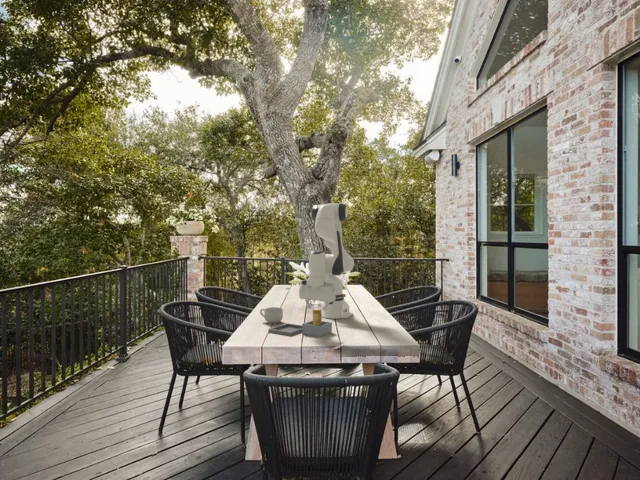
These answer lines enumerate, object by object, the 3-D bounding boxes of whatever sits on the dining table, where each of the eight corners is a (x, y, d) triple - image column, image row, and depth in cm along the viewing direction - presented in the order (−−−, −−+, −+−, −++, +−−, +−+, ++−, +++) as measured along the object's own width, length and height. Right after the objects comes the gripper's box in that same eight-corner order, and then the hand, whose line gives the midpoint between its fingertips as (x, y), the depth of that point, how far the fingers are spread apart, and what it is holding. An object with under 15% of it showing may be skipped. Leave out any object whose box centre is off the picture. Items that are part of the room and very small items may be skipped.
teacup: (286, 322, 236) (286, 308, 236) (275, 325, 227) (275, 311, 227) (267, 319, 243) (267, 306, 243) (255, 322, 234) (256, 308, 234)
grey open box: (313, 331, 214) (313, 319, 214) (331, 334, 208) (331, 322, 208) (302, 335, 205) (302, 323, 205) (320, 338, 199) (320, 326, 199)
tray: (287, 327, 222) (287, 323, 222) (308, 331, 214) (308, 326, 214) (268, 333, 208) (268, 328, 208) (290, 337, 201) (290, 332, 201)
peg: (315, 331, 209) (315, 308, 209) (323, 332, 207) (323, 309, 207) (311, 333, 206) (311, 310, 206) (318, 334, 203) (318, 310, 203)
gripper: (338, 282, 203) (337, 310, 203) (304, 280, 214) (304, 306, 214) (331, 283, 198) (331, 312, 198) (297, 281, 209) (297, 308, 209)
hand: (316, 309), depth 206 cm, fingers open, 8 cm apart
